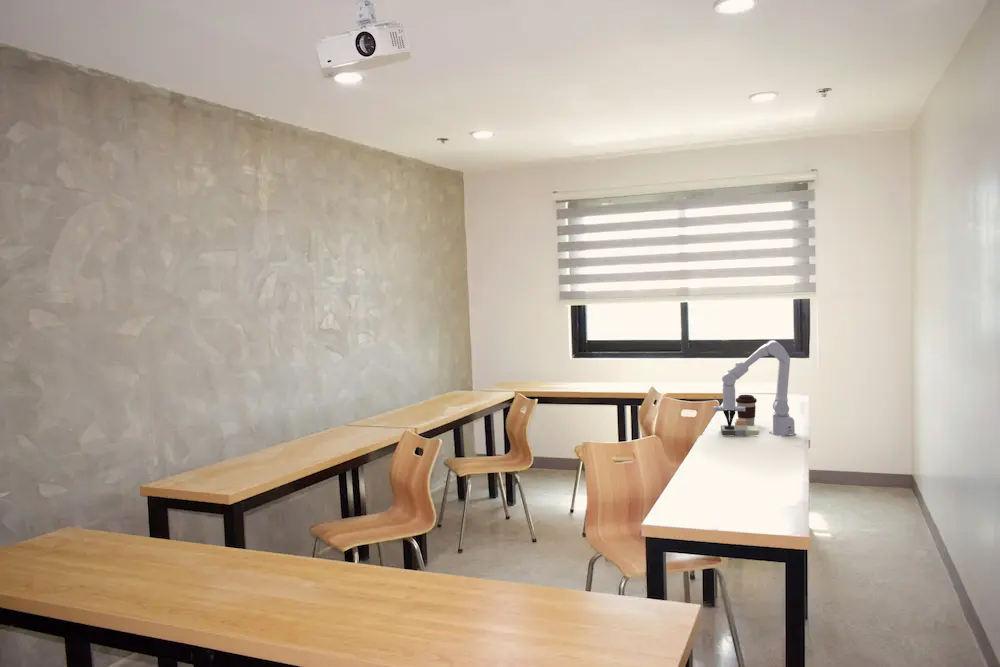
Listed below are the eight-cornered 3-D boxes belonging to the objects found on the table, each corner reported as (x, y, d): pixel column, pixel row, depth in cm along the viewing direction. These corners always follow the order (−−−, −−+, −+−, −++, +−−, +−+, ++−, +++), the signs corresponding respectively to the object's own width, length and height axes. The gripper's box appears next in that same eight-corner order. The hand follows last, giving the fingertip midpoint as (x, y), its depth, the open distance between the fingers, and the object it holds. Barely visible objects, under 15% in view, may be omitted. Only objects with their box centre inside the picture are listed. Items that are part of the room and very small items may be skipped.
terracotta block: (745, 427, 354) (744, 418, 354) (745, 429, 349) (745, 420, 349) (736, 426, 355) (736, 418, 355) (737, 429, 350) (736, 420, 350)
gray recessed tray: (743, 430, 358) (743, 425, 358) (745, 436, 346) (745, 430, 346) (720, 430, 361) (720, 425, 361) (722, 435, 348) (722, 430, 348)
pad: (756, 430, 356) (756, 425, 356) (758, 435, 345) (758, 430, 345) (743, 430, 357) (743, 425, 357) (745, 435, 347) (745, 430, 346)
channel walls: (745, 426, 356) (745, 422, 356) (747, 430, 347) (747, 425, 347) (735, 426, 357) (734, 422, 357) (736, 429, 348) (736, 425, 348)
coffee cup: (753, 427, 363) (752, 397, 362) (733, 426, 369) (732, 396, 368) (759, 424, 371) (759, 394, 370) (740, 422, 377) (739, 393, 376)
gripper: (713, 399, 350) (714, 427, 351) (745, 399, 347) (746, 427, 348) (713, 396, 357) (713, 424, 358) (744, 396, 354) (744, 424, 355)
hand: (729, 425), depth 353 cm, fingers closed
